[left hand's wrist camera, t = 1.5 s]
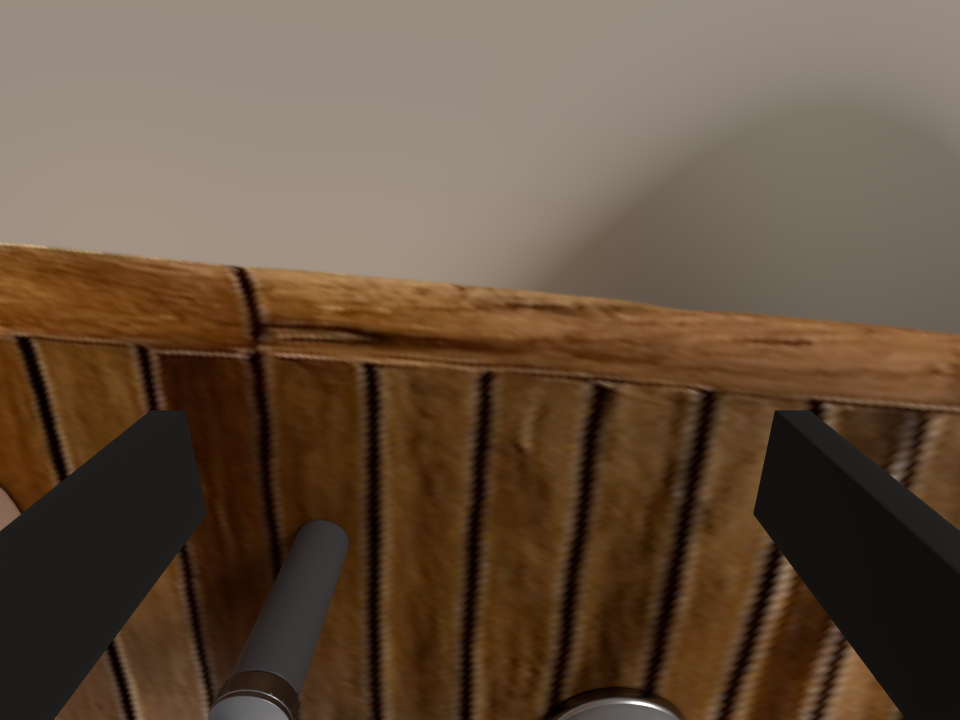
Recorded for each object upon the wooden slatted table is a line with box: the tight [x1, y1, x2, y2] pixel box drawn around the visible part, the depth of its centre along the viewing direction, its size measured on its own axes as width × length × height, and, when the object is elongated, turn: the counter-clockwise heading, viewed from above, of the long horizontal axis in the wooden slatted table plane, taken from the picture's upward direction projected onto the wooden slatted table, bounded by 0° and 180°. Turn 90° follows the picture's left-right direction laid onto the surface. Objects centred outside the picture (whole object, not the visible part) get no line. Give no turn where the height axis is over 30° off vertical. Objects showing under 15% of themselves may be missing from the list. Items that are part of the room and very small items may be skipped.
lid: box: [208, 671, 300, 720], centre depth 33 cm, size 5×5×2 cm
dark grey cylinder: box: [229, 520, 349, 698], centre depth 40 cm, size 4×4×16 cm
